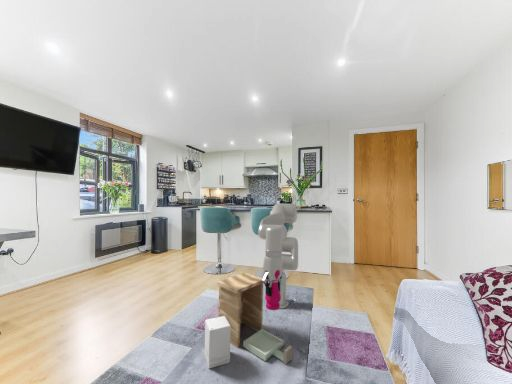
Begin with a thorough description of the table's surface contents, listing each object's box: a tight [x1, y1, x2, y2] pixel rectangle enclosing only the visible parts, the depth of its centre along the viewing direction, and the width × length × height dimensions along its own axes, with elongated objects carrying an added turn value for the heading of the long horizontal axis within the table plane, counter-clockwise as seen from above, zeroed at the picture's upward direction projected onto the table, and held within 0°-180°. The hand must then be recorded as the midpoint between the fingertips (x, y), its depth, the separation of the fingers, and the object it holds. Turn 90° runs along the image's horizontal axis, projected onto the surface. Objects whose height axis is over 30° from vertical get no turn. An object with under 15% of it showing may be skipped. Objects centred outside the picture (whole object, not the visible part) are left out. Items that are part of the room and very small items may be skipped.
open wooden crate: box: [217, 272, 264, 349], centre depth 112 cm, size 19×14×26 cm
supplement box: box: [204, 316, 231, 369], centre depth 94 cm, size 9×9×15 cm
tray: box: [242, 328, 293, 365], centre depth 99 cm, size 13×20×5 cm, turn 48°
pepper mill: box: [264, 270, 281, 311], centre depth 104 cm, size 7×7×20 cm
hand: (272, 292), depth 104 cm, fingers closed on pepper mill, 5 cm apart
